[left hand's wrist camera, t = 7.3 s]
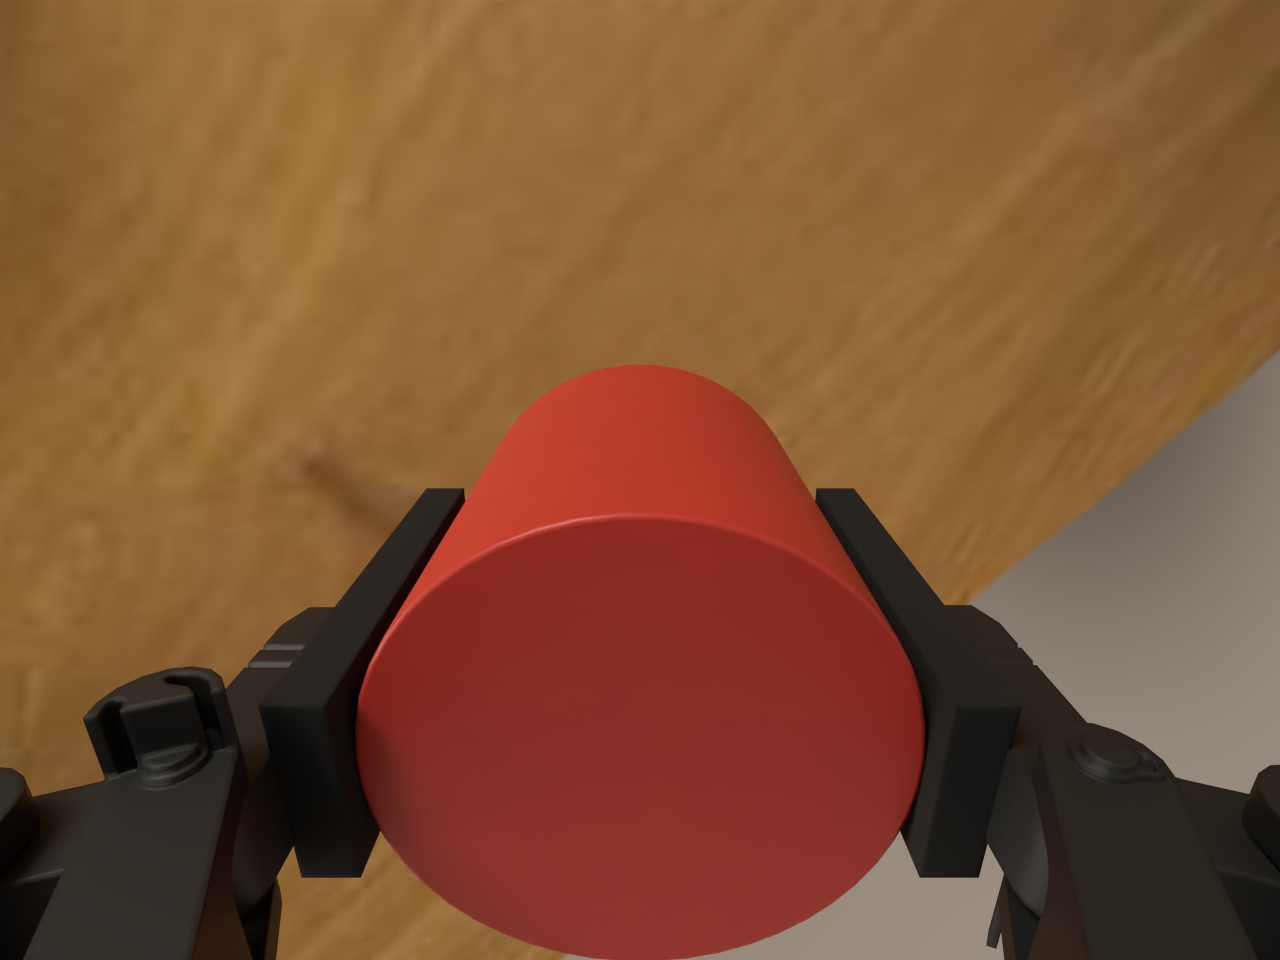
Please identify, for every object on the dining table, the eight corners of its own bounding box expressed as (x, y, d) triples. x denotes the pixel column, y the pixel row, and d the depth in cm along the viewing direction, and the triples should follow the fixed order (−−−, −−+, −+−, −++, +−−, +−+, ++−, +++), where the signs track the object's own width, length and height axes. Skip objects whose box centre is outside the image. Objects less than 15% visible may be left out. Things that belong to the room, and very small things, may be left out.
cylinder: (771, 654, 17) (867, 974, 10) (487, 638, 17) (374, 952, 10) (818, 375, 14) (994, 534, 7) (482, 352, 14) (323, 493, 7)
